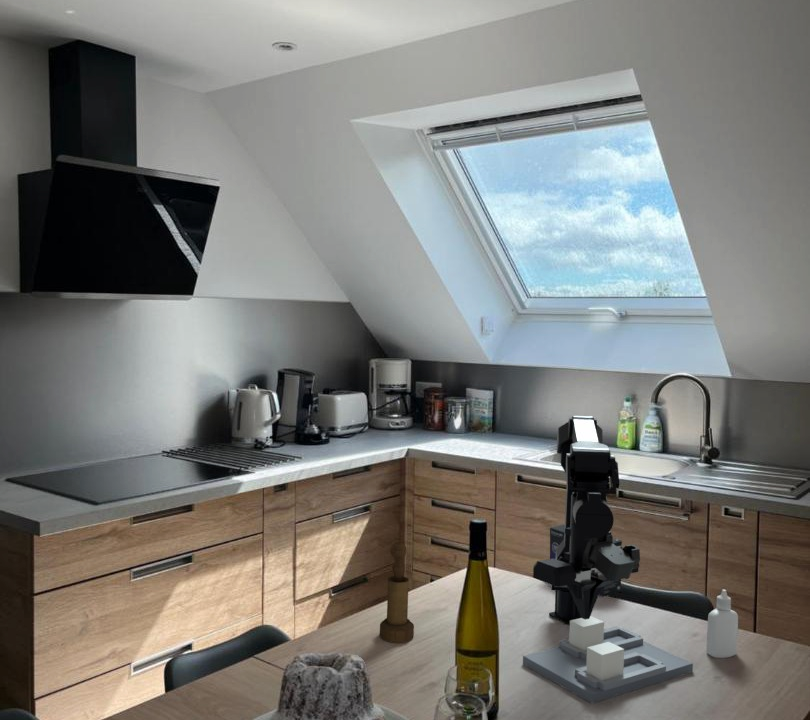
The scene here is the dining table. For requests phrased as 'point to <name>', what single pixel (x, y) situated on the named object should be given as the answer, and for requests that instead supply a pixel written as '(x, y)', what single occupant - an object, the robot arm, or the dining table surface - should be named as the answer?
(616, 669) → the tab
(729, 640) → the eye dropper bottle
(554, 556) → the box
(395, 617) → the mortar and pestle
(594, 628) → the tab
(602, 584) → the robot arm
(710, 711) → the dining table surface
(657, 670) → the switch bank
